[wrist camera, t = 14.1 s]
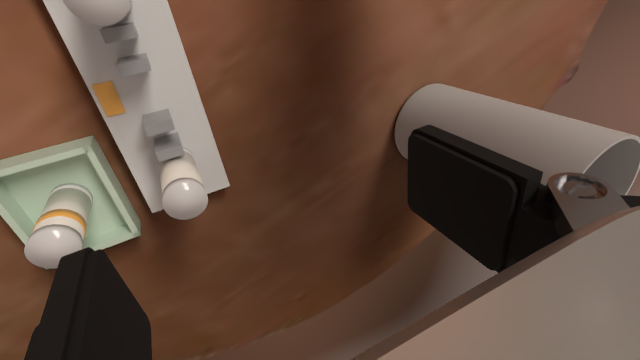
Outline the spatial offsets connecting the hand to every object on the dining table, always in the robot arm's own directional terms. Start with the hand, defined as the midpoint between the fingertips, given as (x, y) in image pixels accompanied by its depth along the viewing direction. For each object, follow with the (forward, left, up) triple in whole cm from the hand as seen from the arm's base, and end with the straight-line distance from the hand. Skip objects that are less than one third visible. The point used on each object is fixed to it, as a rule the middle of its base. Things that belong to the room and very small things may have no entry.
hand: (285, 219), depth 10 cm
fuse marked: (+10, -15, -30) cm, 35 cm away
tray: (+10, -15, -30) cm, 35 cm away
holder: (+1, -4, -30) cm, 31 cm away
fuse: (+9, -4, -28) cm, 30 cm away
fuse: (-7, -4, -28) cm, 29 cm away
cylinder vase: (+16, +32, -31) cm, 47 cm away
